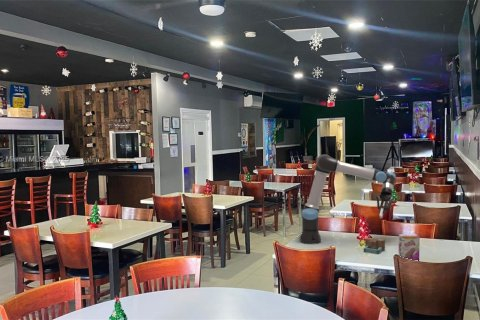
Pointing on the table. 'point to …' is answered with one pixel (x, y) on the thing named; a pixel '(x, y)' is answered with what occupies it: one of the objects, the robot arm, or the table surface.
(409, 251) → the candy bar box
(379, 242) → the walnut T block
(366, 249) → the teal T socket
